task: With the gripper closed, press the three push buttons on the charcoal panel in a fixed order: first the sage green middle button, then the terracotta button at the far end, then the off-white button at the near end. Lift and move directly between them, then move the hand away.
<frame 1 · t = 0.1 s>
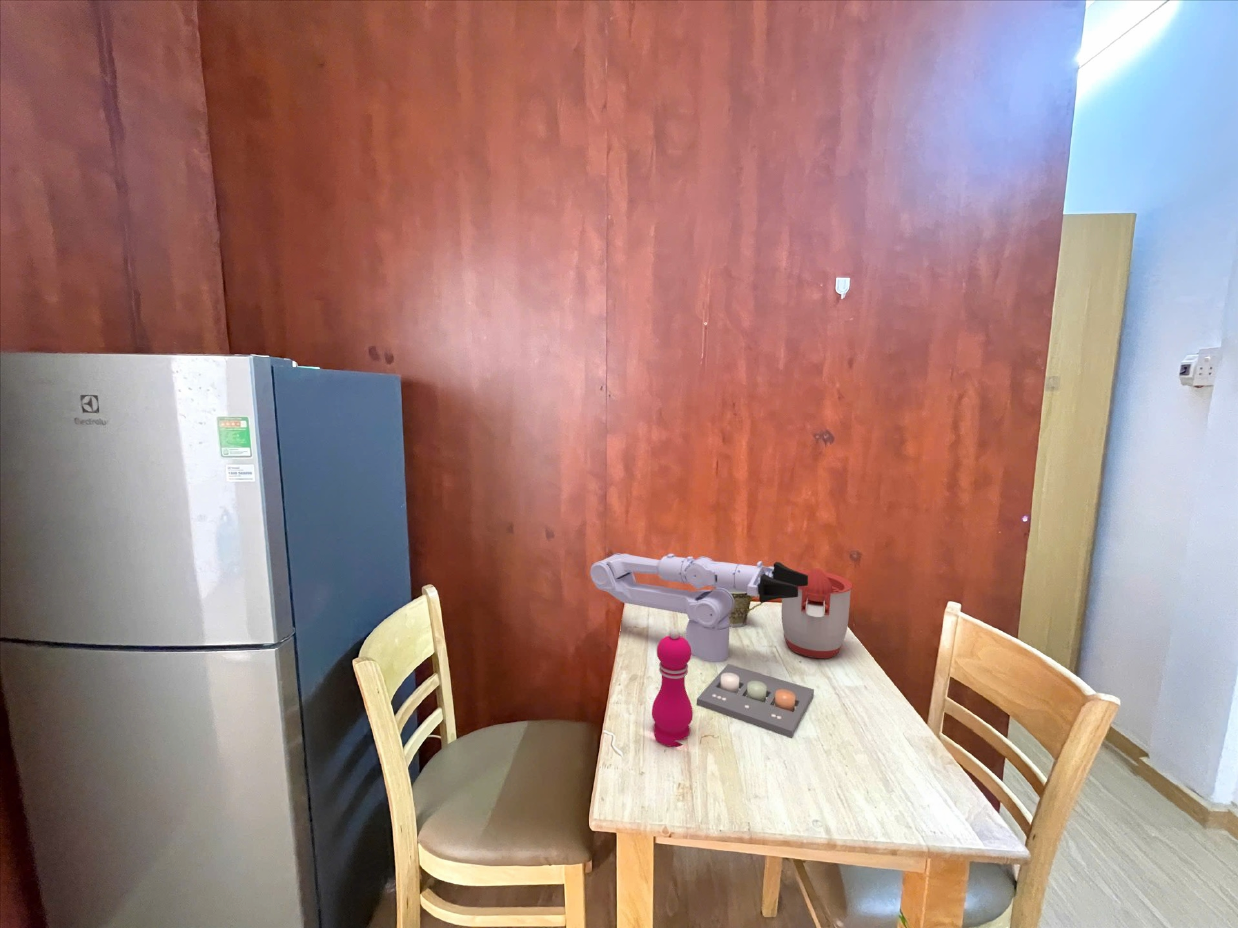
hand: (802, 585, 111), 22 cm above the table, tool horizontal, fingers open, 7 cm apart
button panel: (755, 705, 106), on the table
ceramic cup: (737, 624, 143), on the table
button green: (756, 692, 105), point 3 cm above the table, slide at 0.0 cm
button white: (729, 684, 108), point 3 cm above the table, slide at 0.0 cm
button terracotta: (784, 701, 103), point 3 cm above the table, slide at 0.0 cm
citrus juicer: (812, 650, 129), on the table
pepper mill: (671, 736, 96), on the table
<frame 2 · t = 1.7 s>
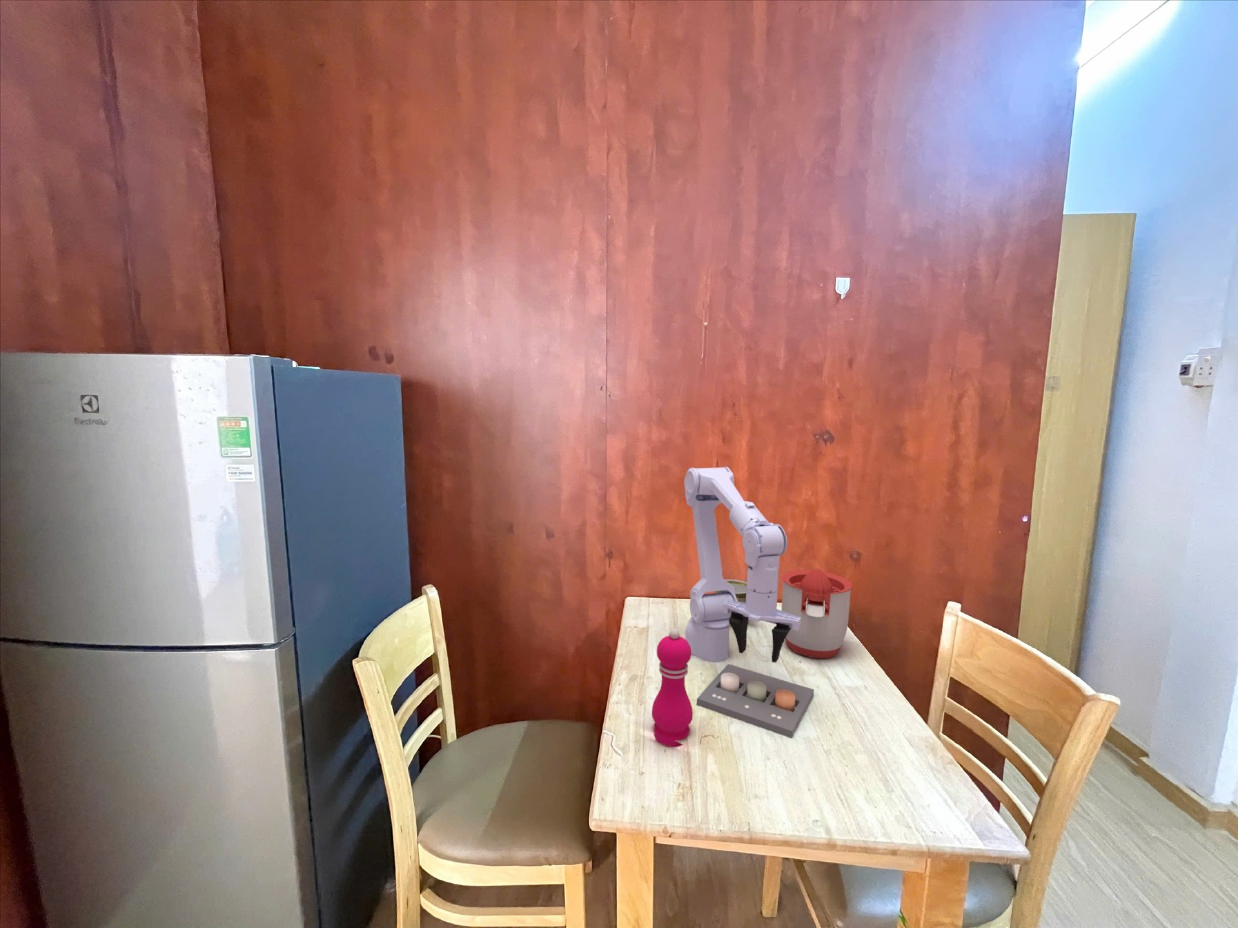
hand: (758, 655, 104), 10 cm above the table, tool pointing down, fingers open, 6 cm apart
nothing on the table moved.
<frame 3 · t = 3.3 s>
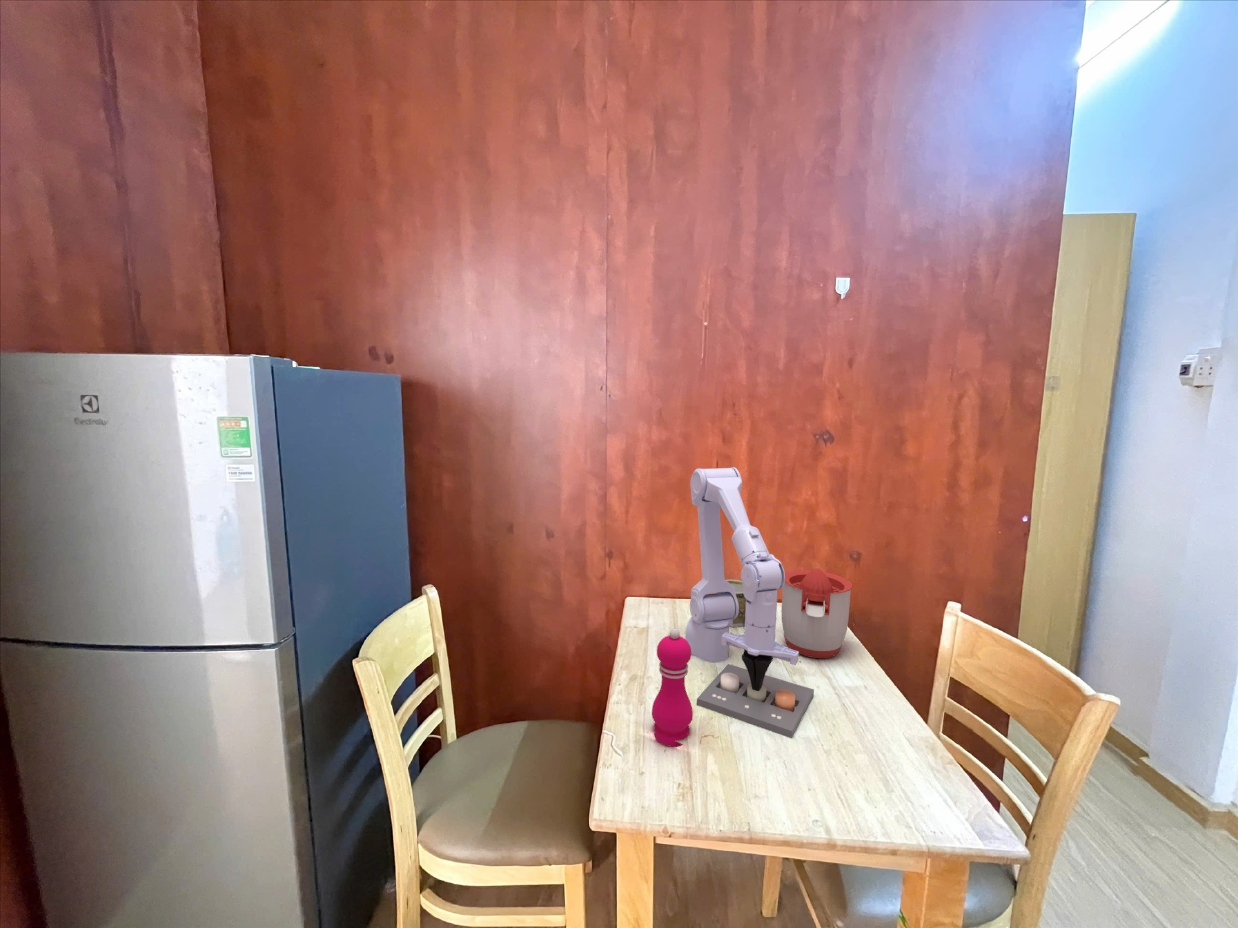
hand: (756, 687, 105), 4 cm above the table, tool pointing down, fingers closed, pressing on button green
button green: (756, 694, 106), point 2 cm above the table, slide at 0.5 cm, touching gripper
everything else where it was.
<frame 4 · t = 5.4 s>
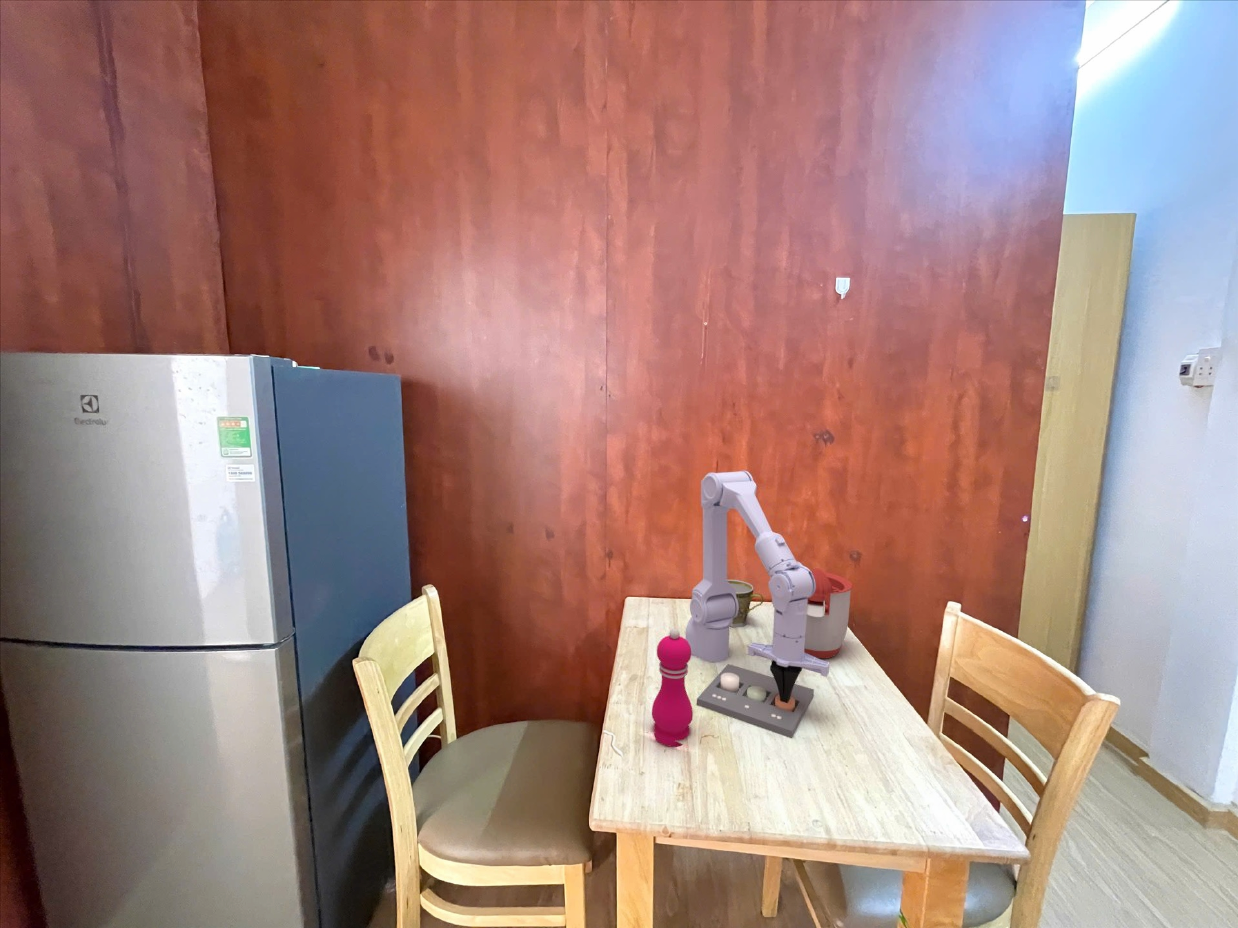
hand: (785, 699, 102), 3 cm above the table, tool pointing down, fingers closed, pressing on button terracotta
button green: (756, 698, 106), point 2 cm above the table, slide at 1.1 cm
button terracotta: (784, 706, 103), point 2 cm above the table, slide at 1.0 cm, touching gripper
everything else where it was.
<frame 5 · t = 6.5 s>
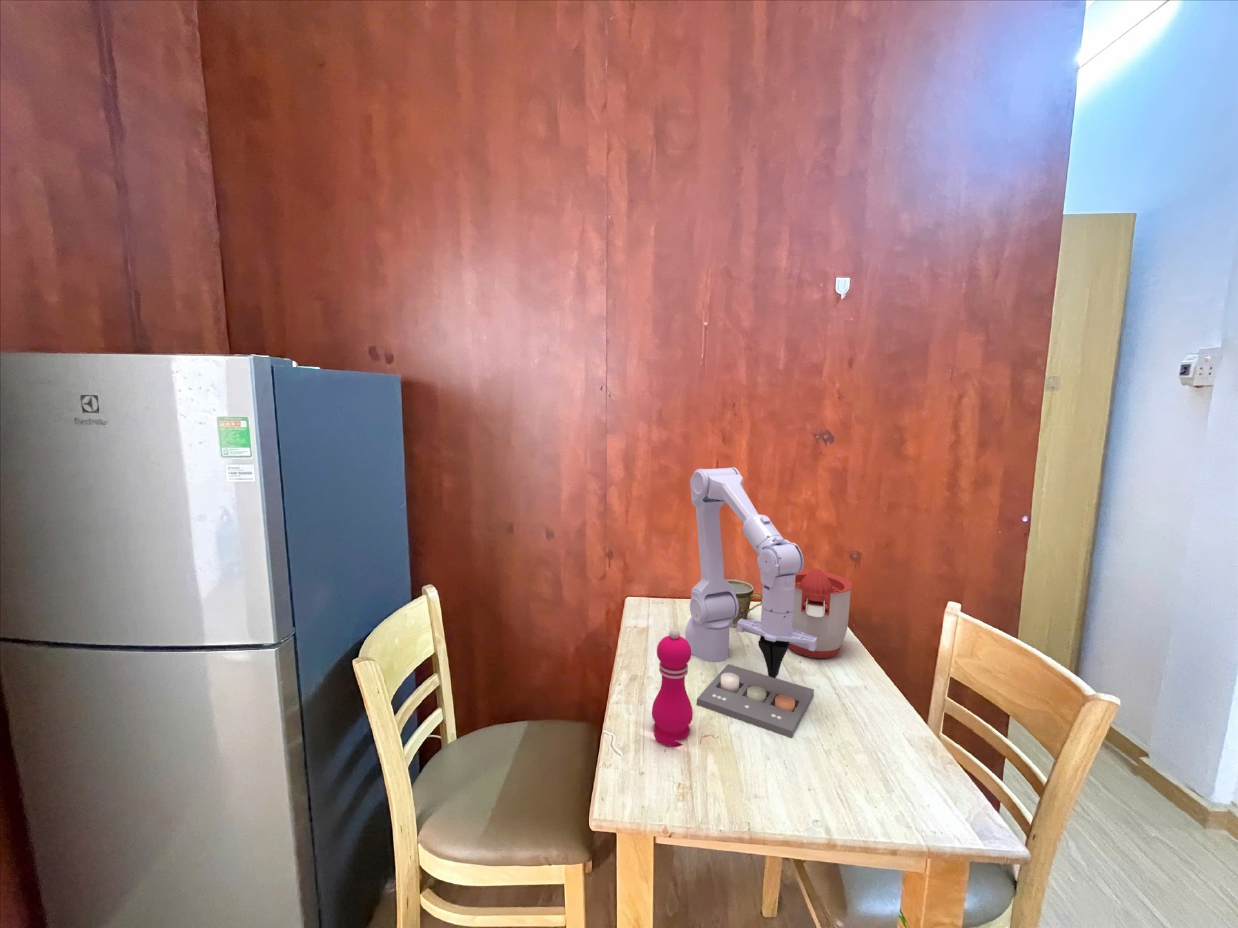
hand: (773, 675, 103), 7 cm above the table, tool pointing down, fingers closed
button terracotta: (784, 707, 103), point 2 cm above the table, slide at 1.1 cm
everything else where it was.
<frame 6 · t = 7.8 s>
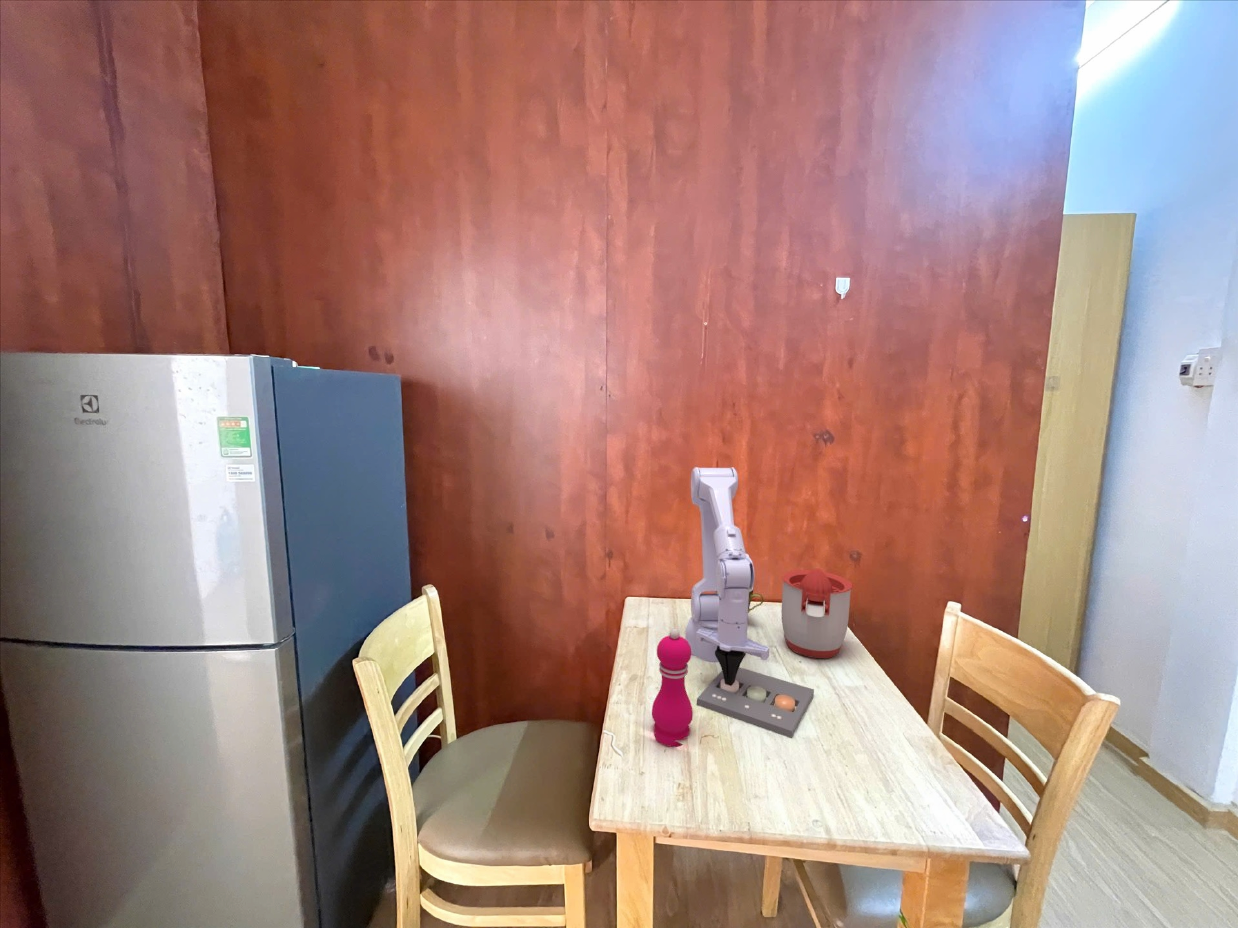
hand: (729, 682, 108), 3 cm above the table, tool pointing down, fingers closed, pressing on button white
button white: (729, 689, 109), point 2 cm above the table, slide at 1.1 cm, touching gripper
everything else where it was.
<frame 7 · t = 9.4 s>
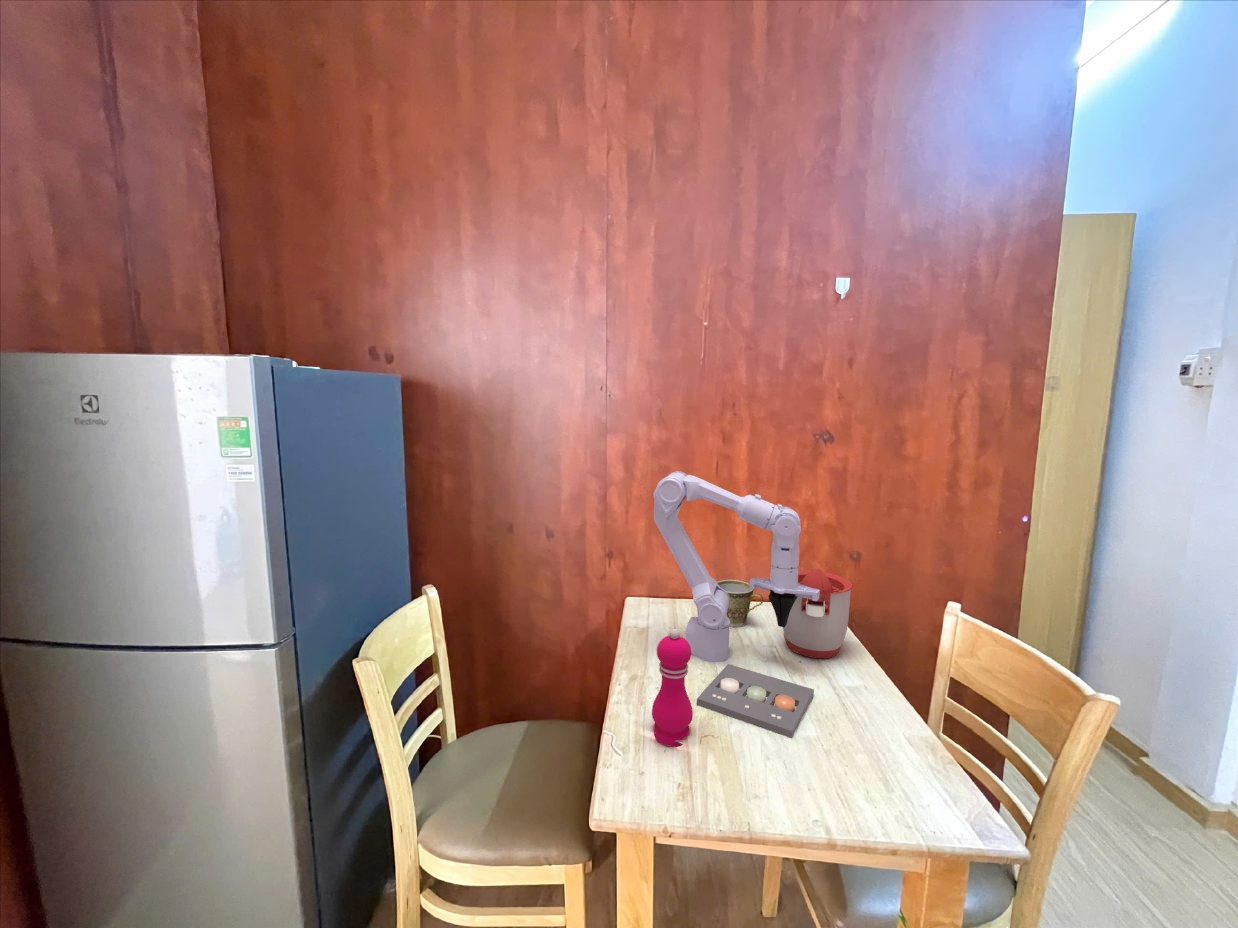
hand: (782, 625, 118), 10 cm above the table, tool pointing down, fingers closed
button white: (729, 689, 109), point 2 cm above the table, slide at 1.1 cm
everything else where it was.
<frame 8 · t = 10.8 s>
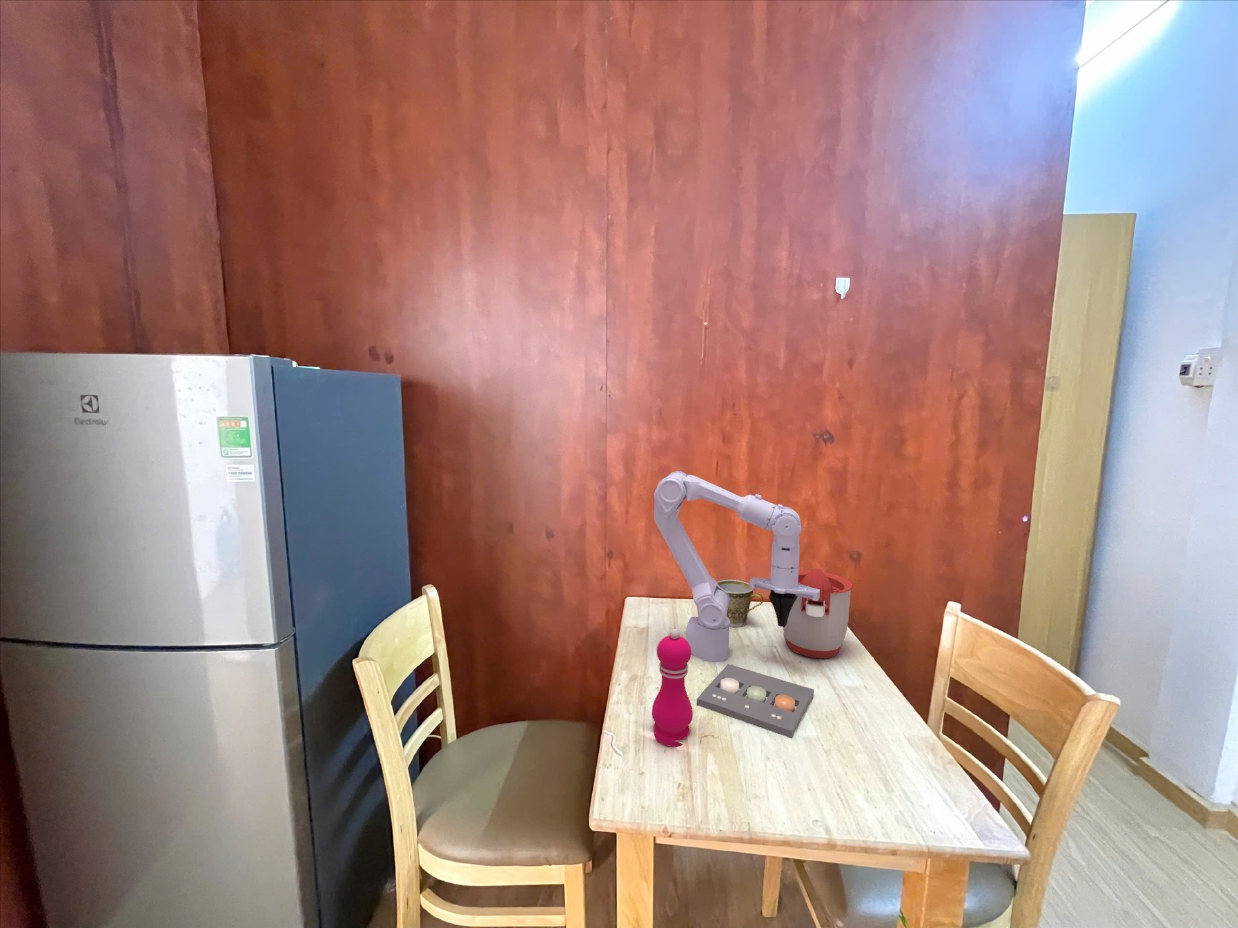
hand: (782, 624, 118), 10 cm above the table, tool pointing down, fingers closed
nothing on the table moved.
at the end: button green slide at 1.1 cm; button terracotta slide at 1.1 cm; button white slide at 1.1 cm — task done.
